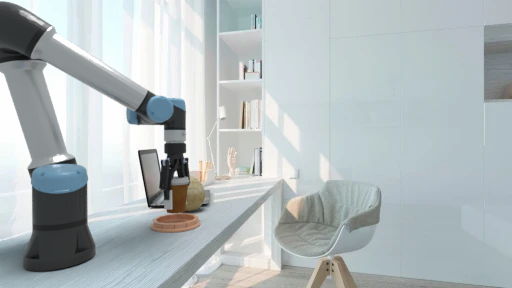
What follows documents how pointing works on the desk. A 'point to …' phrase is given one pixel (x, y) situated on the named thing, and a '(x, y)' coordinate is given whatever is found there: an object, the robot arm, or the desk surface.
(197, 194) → the fossilized egg
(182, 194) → the disposable coffee cup
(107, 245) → the desk surface
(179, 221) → the terracotta plant saucer
